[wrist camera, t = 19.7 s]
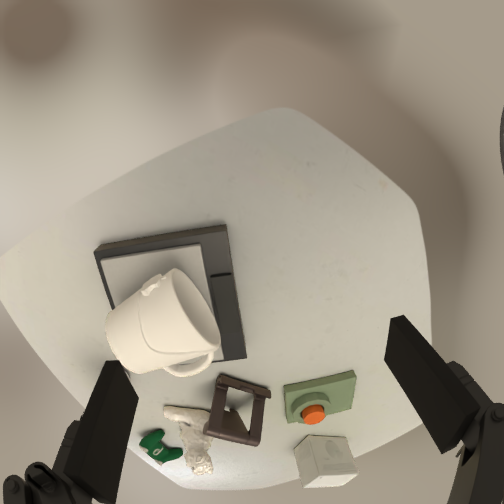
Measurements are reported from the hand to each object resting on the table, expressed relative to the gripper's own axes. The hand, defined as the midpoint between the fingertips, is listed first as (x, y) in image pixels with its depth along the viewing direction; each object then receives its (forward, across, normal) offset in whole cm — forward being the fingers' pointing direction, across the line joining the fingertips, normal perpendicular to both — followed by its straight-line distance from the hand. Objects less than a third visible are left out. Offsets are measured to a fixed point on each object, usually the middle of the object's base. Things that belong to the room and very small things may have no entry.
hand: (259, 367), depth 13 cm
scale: (+23, -9, -8) cm, 26 cm away
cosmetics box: (+24, +10, -50) cm, 56 cm away
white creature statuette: (+23, -13, -32) cm, 42 cm away
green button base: (+24, +9, -32) cm, 40 cm away
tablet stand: (+23, -5, -27) cm, 36 cm away
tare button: (+20, +7, -31) cm, 38 cm away
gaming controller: (+23, -22, -40) cm, 51 cm away
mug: (+20, -9, -8) cm, 24 cm away
